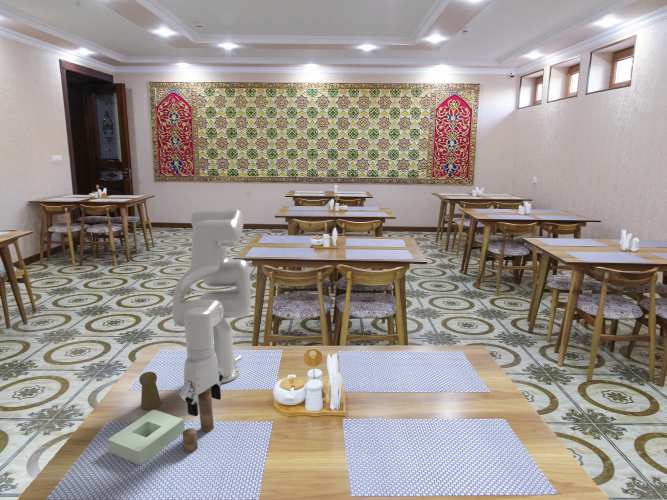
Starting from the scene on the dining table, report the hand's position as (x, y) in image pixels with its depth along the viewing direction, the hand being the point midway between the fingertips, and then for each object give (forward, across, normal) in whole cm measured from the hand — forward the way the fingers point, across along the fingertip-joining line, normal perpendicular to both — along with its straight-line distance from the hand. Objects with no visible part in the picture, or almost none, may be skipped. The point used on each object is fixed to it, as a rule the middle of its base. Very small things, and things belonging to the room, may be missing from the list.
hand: (205, 406), depth 134 cm
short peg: (+8, +8, +2) cm, 12 cm away
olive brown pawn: (+7, -3, -26) cm, 27 cm away
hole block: (+8, +11, -12) cm, 18 cm away
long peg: (+8, -1, 0) cm, 8 cm away
